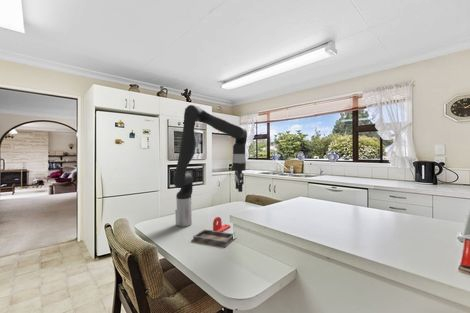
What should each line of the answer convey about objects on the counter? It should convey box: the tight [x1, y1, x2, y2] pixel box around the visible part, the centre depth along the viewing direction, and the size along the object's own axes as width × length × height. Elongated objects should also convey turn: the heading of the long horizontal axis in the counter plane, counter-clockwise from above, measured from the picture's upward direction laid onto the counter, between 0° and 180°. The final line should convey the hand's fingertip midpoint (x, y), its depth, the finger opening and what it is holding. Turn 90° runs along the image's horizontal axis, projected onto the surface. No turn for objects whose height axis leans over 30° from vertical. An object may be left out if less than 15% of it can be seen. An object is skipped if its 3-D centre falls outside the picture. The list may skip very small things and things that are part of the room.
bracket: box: [212, 216, 231, 232], centre depth 131 cm, size 12×4×8 cm, turn 148°
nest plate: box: [191, 229, 235, 248], centre depth 117 cm, size 20×13×2 cm, turn 66°
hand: (238, 190), depth 126 cm, fingers open, 8 cm apart
